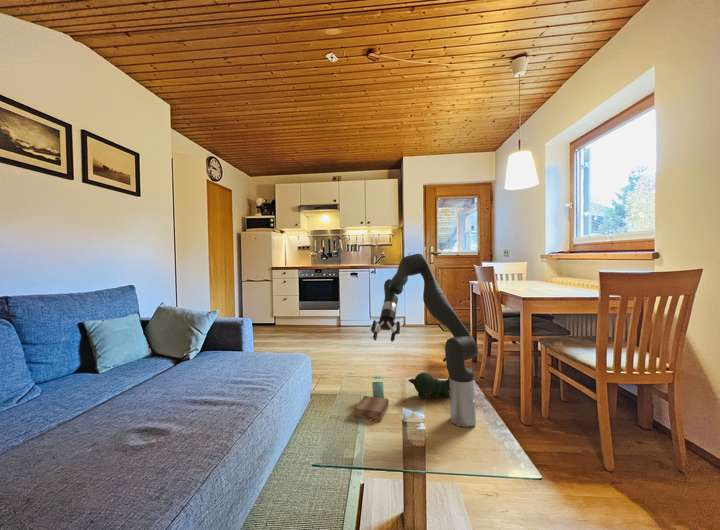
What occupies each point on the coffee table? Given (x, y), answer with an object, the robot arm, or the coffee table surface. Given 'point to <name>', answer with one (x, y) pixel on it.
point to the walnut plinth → (371, 408)
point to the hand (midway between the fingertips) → (383, 340)
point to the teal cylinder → (378, 388)
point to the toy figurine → (430, 385)
